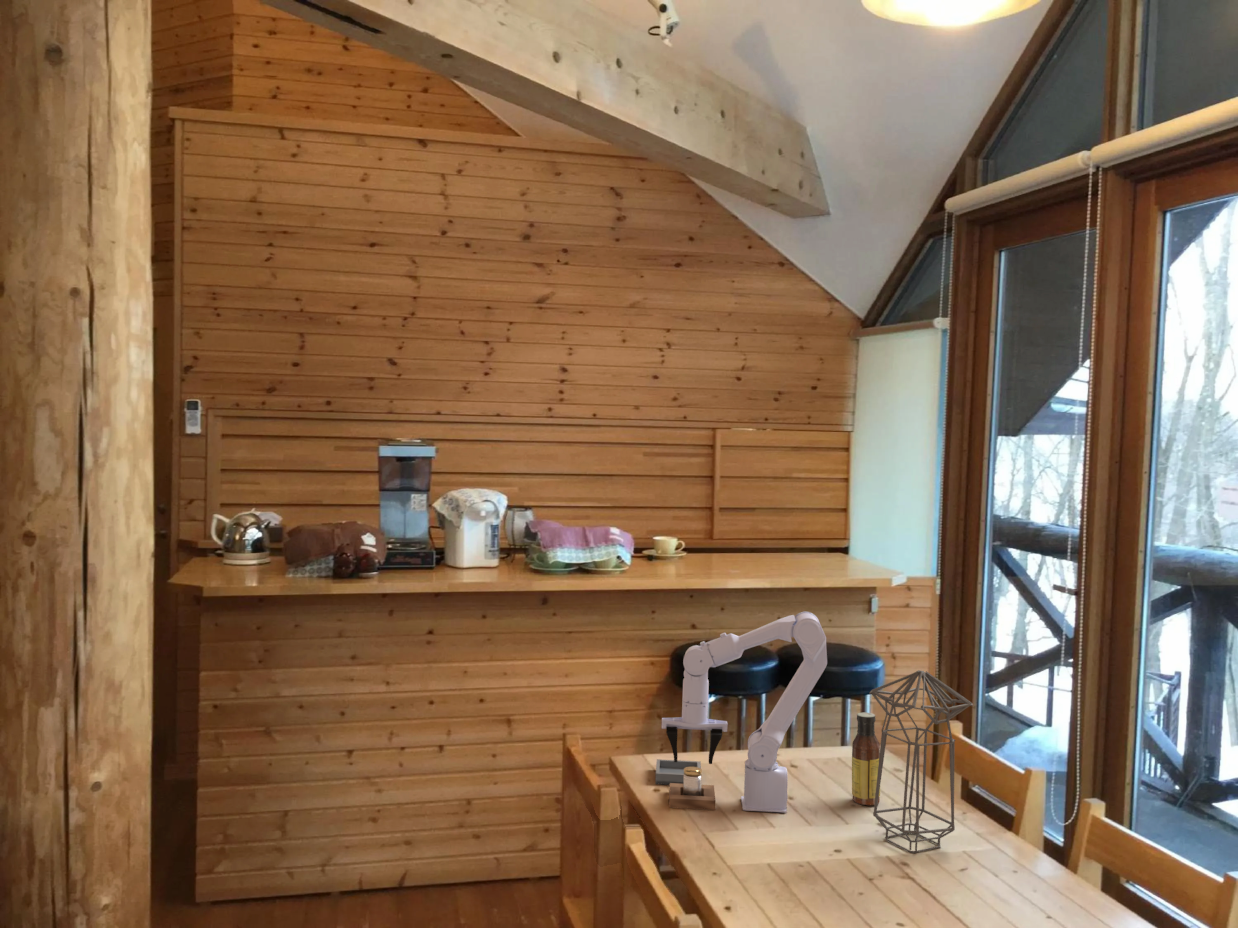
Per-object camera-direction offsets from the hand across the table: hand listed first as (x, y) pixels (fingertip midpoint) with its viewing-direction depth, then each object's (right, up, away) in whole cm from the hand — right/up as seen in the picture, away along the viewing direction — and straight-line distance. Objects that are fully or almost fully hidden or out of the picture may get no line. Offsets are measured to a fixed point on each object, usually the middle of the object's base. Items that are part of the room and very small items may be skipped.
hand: (693, 761), depth 225 cm
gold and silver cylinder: (0, -9, 0) cm, 9 cm away
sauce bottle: (+39, -10, +3) cm, 40 cm away
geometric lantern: (+44, -11, -19) cm, 49 cm away
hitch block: (0, -9, 0) cm, 9 cm away
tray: (-2, -8, +15) cm, 18 cm away
